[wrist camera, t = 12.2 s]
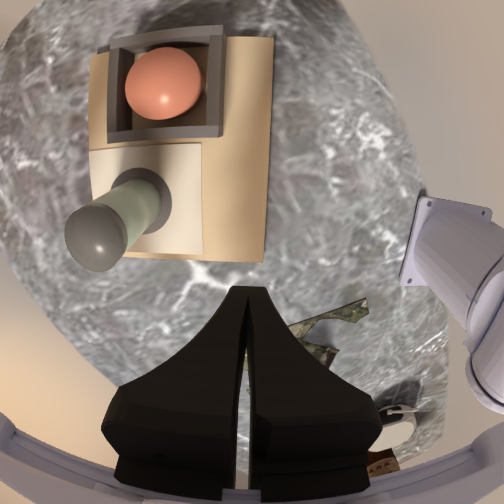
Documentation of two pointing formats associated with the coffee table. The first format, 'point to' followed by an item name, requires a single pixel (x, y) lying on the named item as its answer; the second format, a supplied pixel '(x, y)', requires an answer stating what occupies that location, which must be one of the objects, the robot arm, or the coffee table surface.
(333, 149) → the coffee table surface
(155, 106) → the button
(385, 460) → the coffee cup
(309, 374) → the robot arm
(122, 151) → the wooden base tray
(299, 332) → the eiffel tower figurine
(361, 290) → the coffee table surface
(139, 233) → the green capped bottle
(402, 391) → the coffee table surface
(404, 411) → the robot toy
